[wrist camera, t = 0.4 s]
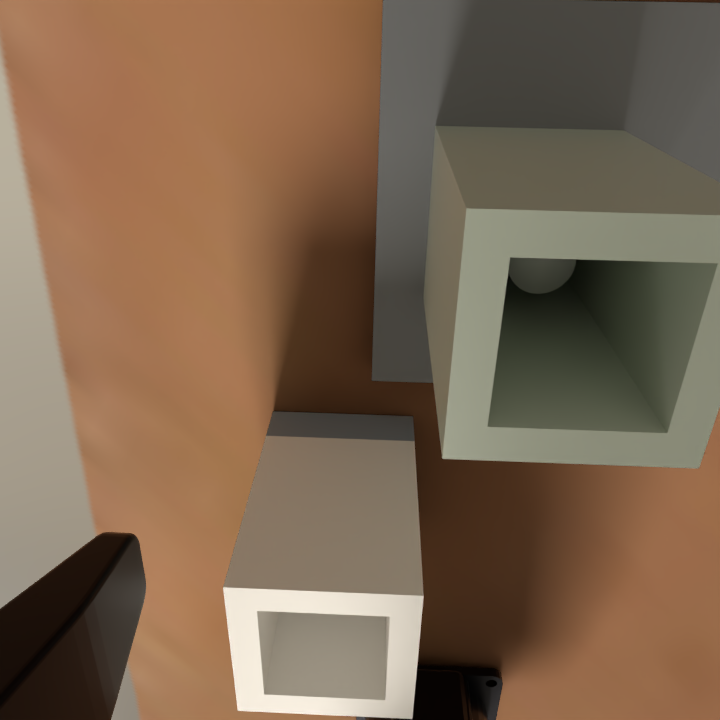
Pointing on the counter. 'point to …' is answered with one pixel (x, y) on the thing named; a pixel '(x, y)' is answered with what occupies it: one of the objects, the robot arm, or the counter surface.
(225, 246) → the counter surface
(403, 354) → the pin board
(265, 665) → the sleeve
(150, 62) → the counter surface
